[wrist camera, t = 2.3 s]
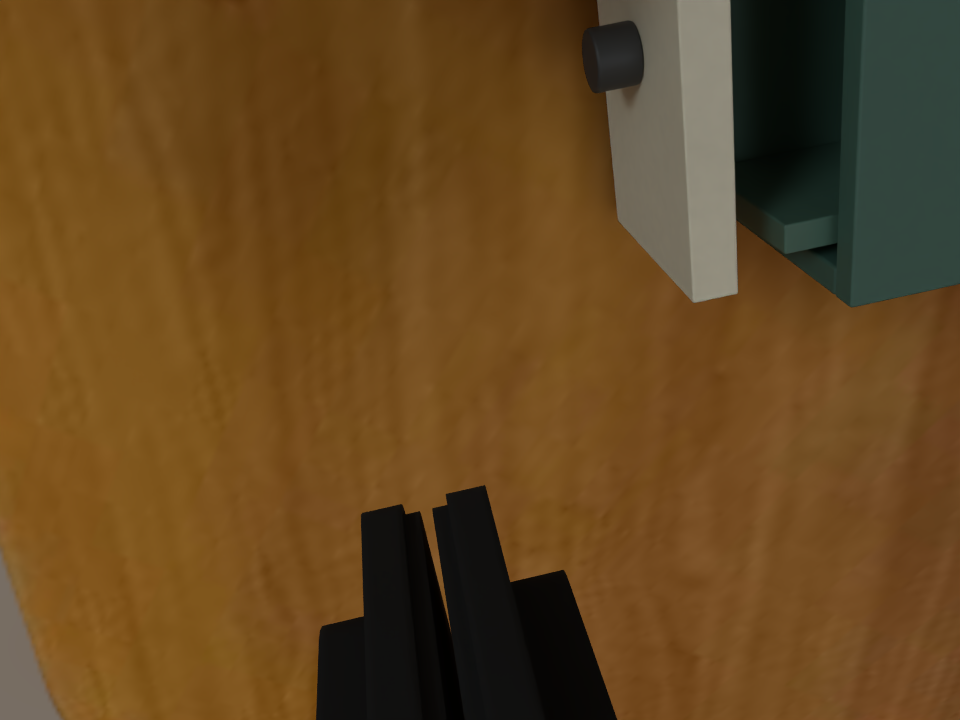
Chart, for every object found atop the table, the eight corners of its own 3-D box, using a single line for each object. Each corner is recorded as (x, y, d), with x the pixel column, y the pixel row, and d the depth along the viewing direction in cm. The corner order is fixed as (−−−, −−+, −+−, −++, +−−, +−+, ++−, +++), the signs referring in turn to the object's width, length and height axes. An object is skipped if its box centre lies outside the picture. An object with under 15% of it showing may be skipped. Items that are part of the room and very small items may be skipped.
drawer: (581, 228, 27) (647, 314, 21) (533, -184, 22) (603, -223, 16) (1013, 137, 28) (1193, 195, 22) (1068, -284, 23) (1325, -358, 17)
